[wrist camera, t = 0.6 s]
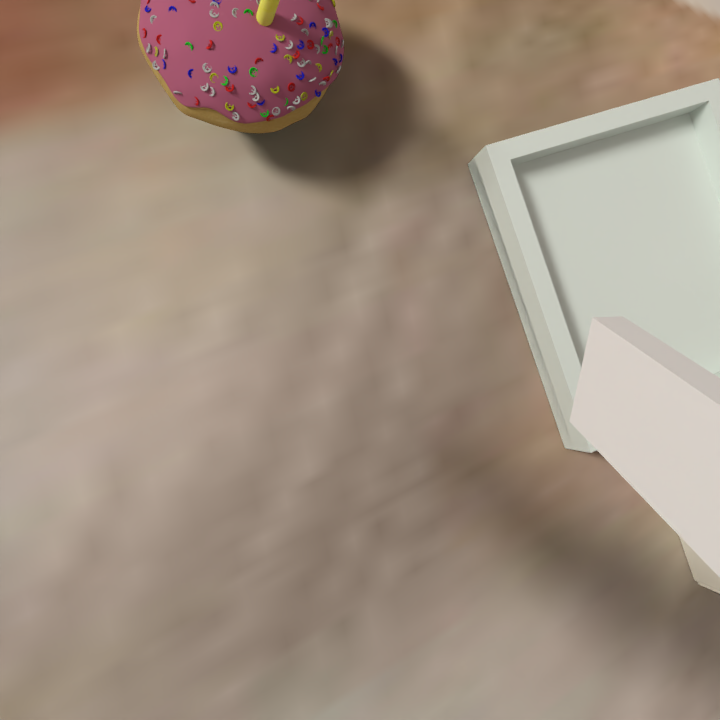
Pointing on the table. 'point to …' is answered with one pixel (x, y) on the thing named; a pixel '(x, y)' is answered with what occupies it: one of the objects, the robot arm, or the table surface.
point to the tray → (610, 231)
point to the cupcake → (242, 58)
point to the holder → (701, 570)
